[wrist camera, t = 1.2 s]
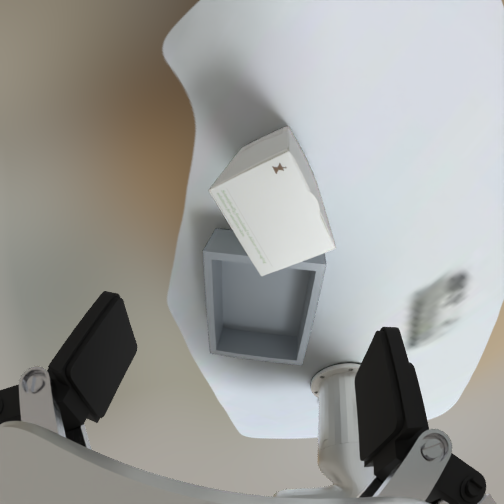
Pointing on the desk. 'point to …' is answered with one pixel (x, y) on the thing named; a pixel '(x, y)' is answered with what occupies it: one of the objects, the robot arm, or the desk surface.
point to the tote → (258, 303)
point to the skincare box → (274, 203)
